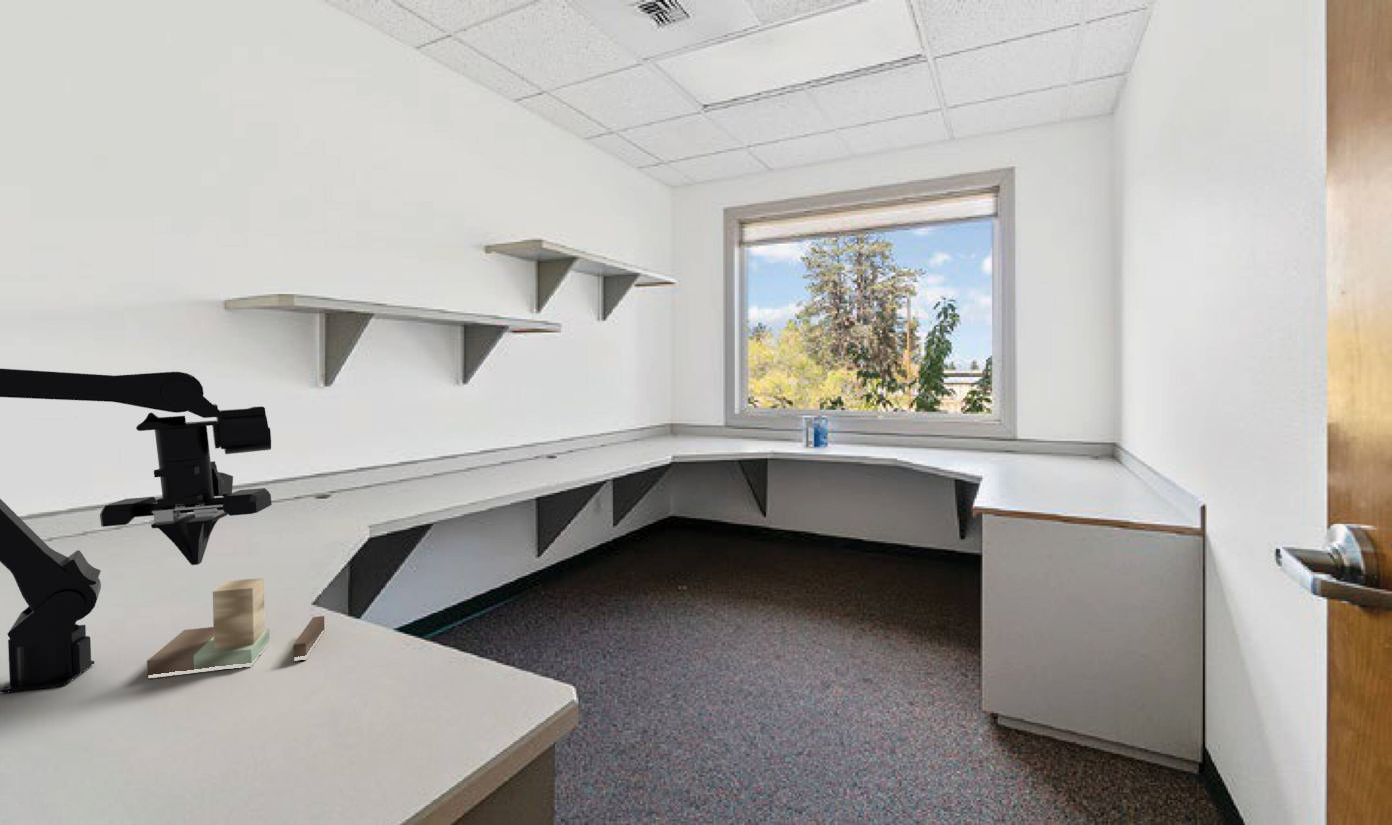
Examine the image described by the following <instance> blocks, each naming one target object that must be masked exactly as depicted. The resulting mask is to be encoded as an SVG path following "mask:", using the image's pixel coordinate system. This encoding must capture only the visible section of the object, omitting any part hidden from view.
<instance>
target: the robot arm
mask: <svg viewBox="0 0 1392 825" xmlns="http://www.w3.org/2000/svg"><path fill="white" fill-rule="evenodd" d="M0 398H11V399H13V398H14V399H34V400H36V399H37V400H38V399H41V400H57V401H58V400H60V401H82V402H83V401H87V402H111V403H117V404H124V405H128V406H134V407H140V408H143V409H144V408H145V409H151V410H155V411H162V412H168V413H177V414H178V413H186V412H189V413H191V414H194V415H196V416H199V417H201V418H203V419H211V418H216V419H215V420H205V421H201V420H200V421H188V422H187V421H186V420H187V419H186V415H175V416H163V417H162V416H161V417H160V416H158V415H156V414H155V413H154V412H148V413H147V415H146V418H145V419H144V420H143V421H142V422H140V423H139V424H137V426H136V428H135V429H136V431H138V432H142V431H154V435H155V444H156V445H155V446H156V452H157V461H158V468H157V469H154V470H153V476H154V478H159V479H160V486H161V494H162V496H161V497H160V498H157V499H156V498H155V497H154V496H147V497H146V496H145V497H133V498H124V499H121V500H118V501H115V502H112V503H109V504H105V505H104V506H103V508H102V509H101V511H100V513H99V519H100V526H101V527H103V528H104V527H112V526H113V527H114V526H115V527H116V526H126V525H129V524H130V523H131V521H133V520H134V519H135V518H140V517H142V518H143V517H152V516H153V522H154V523H151V524H150V526H151V529H158V530H159V531H161V533H162V534H164V535H165V537H167V538H168V539H169V541H171V542H172V543H173V544H174V545H175V547H176V548H177V549H178V550H179V551H180V553H181V554H182V555H183V556H184V558H185V559H186V561H188V563H189V564H190V565H191V566H197V565H200V564H201V563H202V561H203V558H204V555H205V552H206V551H207V550H206V549H207V547H208V543H209V540H210V537H211V534H212V532H213V529H214V528H215V526H216V524H217V523H218V521H219V520H220V519H222V518H225V517H227V516H231V517H232V516H243V515H253V514H256V513H259V512H261V511H262V510H265V509H267V508H269V507H270V506H272V495H271V493H270V491H269V490H267V488H265V487H263V488H261V487H259V488H250V489H238V490H237V491H234V492H233V484H234V483H233V481H234V476H233V475H231V474H228V473H225V472H220V471H218V468H217V464H216V461H211V453H210V444H209V443H210V442H209V435H208V426H209V427H210V426H211V427H212V433H213V434H212V436H213V437H212V438H213V445H214V448H215V449H221V450H223V451H224V454H225V455H232V454H242V453H243V454H244V453H253V452H261V451H271V449H272V435H271V432H272V431H271V428H270V427H269V424H268V418H267V414H266V407H264V406H261V405H260V406H252V407H248V408H238V409H237V408H235V409H234V408H233V409H223V410H222V409H221V410H220V409H218V408H219V406H218V405H217V404H216V403H214V404H213V403H212V402H211V401H209V399H207V398H206V397H205V396H204V388H203V386H202V384H201V381H200V380H198V379H197V378H196V377H195V376H193V375H192V374H189V373H186V372H182V371H166V372H151V373H150V372H149V373H134V374H119V375H117V374H116V375H114V374H113V375H111V374H109V375H108V374H93V373H92V374H91V373H81V372H80V373H79V372H78V373H76V372H63V371H62V372H61V371H49V370H48V371H46V370H45V371H44V370H33V369H32V370H30V369H29V370H28V369H15V368H13V369H12V368H0ZM0 563H1V564H2V565H3V566H4V567H5V568H6V569H7V570H9V572H10V573H11V574H12V576H13V578H14V581H15V583H16V585H17V587H18V590H19V591H20V594H21V596H22V598H23V600H24V602H25V603H26V604H27V605H28V606H27V607H26V608H25V609H24V610H23V611H22V612H21V613H20V614H19V615H18V617H17V618H16V620H15V621H14V623H13V624H12V626H11V628H10V629H9V631H8V632H7V636H8V640H7V644H8V646H7V648H8V673H9V674H8V675H9V682H8V683H7V684H5V685H3V686H2V687H0V692H5V693H13V692H12V691H14V692H20V691H19V690H22V691H28V690H31V691H32V690H38V689H46V688H45V687H48V688H53V686H56V687H61V686H60V685H63V686H65V685H64V684H66V685H68V684H69V683H71V682H72V681H73V680H72V679H74V678H75V677H76V678H77V676H78V675H79V674H80V673H81V672H83V671H84V670H86V669H87V668H89V667H90V666H91V665H92V664H94V665H95V660H92V648H91V644H92V643H91V641H92V640H91V637H90V636H89V635H87V629H86V628H87V627H86V624H77V622H78V621H81V620H83V619H84V618H85V617H86V616H88V615H89V614H90V613H92V611H93V609H94V608H95V607H96V604H97V601H98V598H99V594H100V592H101V590H102V589H101V588H102V583H101V580H100V578H99V577H100V575H101V569H99V568H96V567H94V566H93V565H91V564H90V563H89V562H88V560H87V559H86V558H85V556H84V554H83V553H82V551H80V550H79V549H78V550H75V551H74V552H73V553H71V554H70V555H68V556H66V555H64V554H62V553H60V552H58V551H56V550H54V549H53V548H51V547H50V546H49V545H47V543H46V542H45V541H43V539H42V538H41V537H40V536H39V535H37V534H36V532H35V531H34V530H33V529H31V527H29V526H28V525H27V523H25V522H24V521H23V519H21V517H20V516H19V515H18V514H16V513H15V511H14V510H12V508H11V507H10V506H8V505H7V503H5V501H3V499H1V498H0ZM91 667H92V666H91ZM91 667H90V668H91ZM90 668H89V669H90ZM87 670H88V669H87ZM87 670H86V671H87ZM83 673H84V672H83ZM80 675H81V674H80ZM80 675H79V676H80ZM79 676H78V677H79ZM76 678H75V679H76ZM75 679H74V680H75ZM71 680H72V681H71ZM70 681H71V682H70ZM68 682H69V683H68ZM67 683H68V684H67ZM8 691H9V692H8Z"/></svg>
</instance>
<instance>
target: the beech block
mask: <svg viewBox="0 0 1392 825" xmlns="http://www.w3.org/2000/svg"><path fill="white" fill-rule="evenodd" d="M212 607H213V608H212V613H213V615H212V617H213V618H212V620H213V623H212V625H213V627H214V649H216V648H226V647H235V646H244V645H253V644H255V642H256V641H257V640H258V639H259V638H260V637H261V636H262V634H263V633H264V632H265V629H266V621H265V619H266V618H265V616H266V615H265V578H264V577H261V578H251V579H250V578H247V579H236V580H225V581H224V582H222V584H220V585H219V586H218V587H217V588H215V589H214V590H212Z"/></svg>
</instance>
